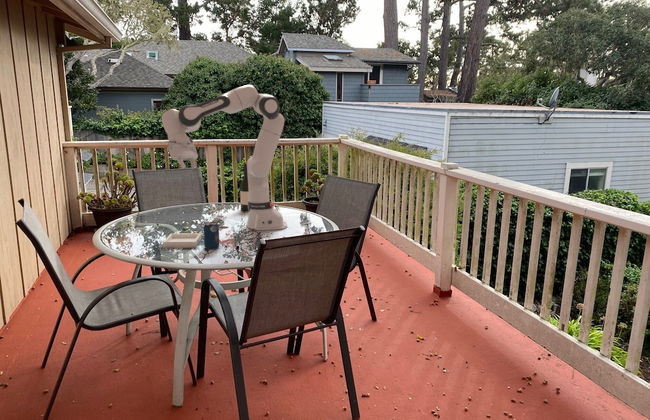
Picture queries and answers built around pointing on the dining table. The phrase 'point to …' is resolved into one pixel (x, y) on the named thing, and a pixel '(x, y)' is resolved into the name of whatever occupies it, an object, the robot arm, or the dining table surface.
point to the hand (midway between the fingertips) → (189, 167)
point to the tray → (182, 240)
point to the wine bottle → (244, 190)
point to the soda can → (211, 235)
